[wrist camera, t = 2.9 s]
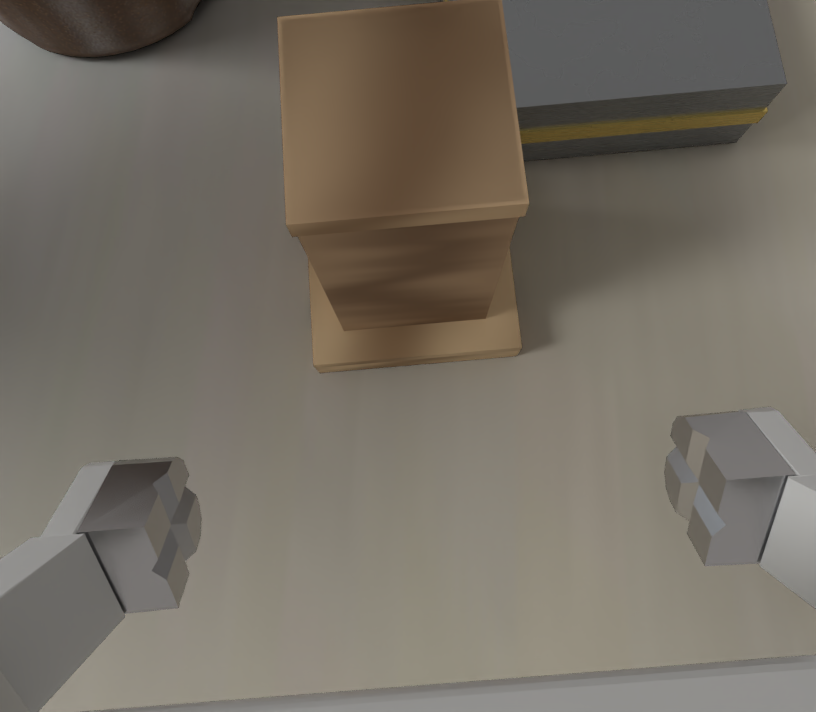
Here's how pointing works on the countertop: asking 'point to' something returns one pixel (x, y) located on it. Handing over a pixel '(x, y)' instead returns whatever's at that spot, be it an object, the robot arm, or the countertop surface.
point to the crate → (402, 157)
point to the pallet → (415, 334)
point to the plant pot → (95, 23)
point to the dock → (638, 73)
